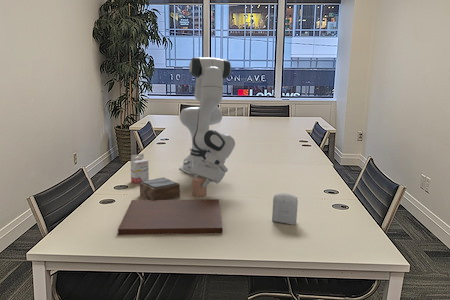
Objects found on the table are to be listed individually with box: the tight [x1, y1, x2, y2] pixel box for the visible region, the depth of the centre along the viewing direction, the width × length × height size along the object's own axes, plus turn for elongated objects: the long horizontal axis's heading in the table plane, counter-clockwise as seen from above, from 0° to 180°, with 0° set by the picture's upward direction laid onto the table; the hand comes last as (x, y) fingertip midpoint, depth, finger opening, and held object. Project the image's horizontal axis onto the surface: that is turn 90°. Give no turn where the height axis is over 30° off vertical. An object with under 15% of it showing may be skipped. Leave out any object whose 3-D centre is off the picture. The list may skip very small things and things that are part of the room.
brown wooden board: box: [117, 198, 224, 236], centre depth 174 cm, size 40×3×33 cm
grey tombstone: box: [271, 192, 299, 225], centre depth 169 cm, size 10×4×12 cm, turn 69°
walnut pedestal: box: [139, 176, 181, 200], centre depth 201 cm, size 14×14×7 cm
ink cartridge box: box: [130, 153, 150, 184], centre depth 224 cm, size 9×5×15 cm, turn 135°
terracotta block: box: [191, 177, 208, 198], centre depth 203 cm, size 5×5×8 cm
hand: (198, 185), depth 202 cm, fingers closed on terracotta block, 5 cm apart
